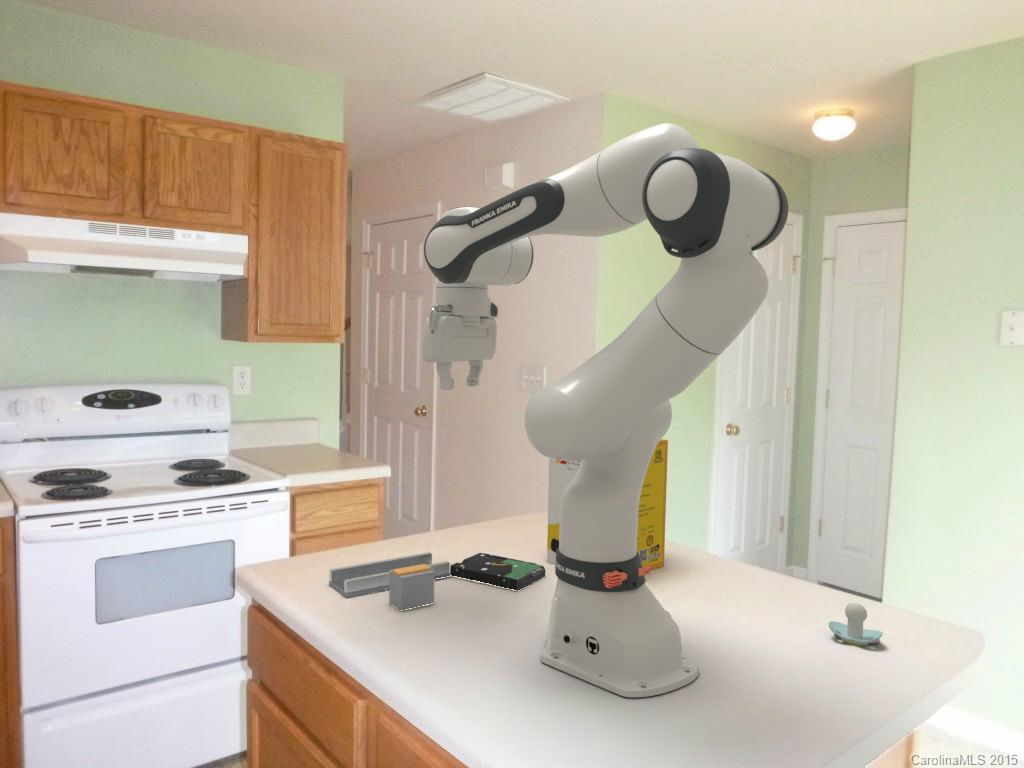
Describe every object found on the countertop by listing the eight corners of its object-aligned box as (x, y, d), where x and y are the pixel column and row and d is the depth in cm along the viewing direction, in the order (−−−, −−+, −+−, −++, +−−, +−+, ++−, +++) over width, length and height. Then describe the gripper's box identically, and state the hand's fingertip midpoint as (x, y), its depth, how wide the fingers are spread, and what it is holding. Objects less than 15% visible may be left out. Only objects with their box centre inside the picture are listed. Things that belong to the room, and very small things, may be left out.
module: (433, 604, 126) (434, 569, 125) (401, 611, 122) (401, 575, 122) (421, 596, 129) (421, 562, 129) (389, 603, 126) (389, 568, 125)
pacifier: (833, 629, 118) (825, 641, 113) (835, 590, 118) (828, 600, 113) (884, 640, 114) (879, 653, 109) (887, 600, 114) (882, 610, 109)
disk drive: (449, 580, 140) (519, 594, 132) (449, 565, 139) (519, 578, 132) (479, 565, 149) (546, 578, 141) (479, 551, 148) (546, 563, 141)
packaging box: (546, 562, 149) (549, 436, 148) (601, 547, 160) (604, 430, 159) (609, 583, 137) (613, 447, 136) (664, 566, 148) (668, 439, 147)
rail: (449, 577, 139) (449, 562, 139) (346, 598, 128) (347, 581, 127) (428, 566, 146) (428, 551, 145) (329, 584, 134) (329, 569, 134)
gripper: (448, 304, 117) (447, 393, 118) (503, 308, 136) (501, 385, 137) (413, 303, 120) (412, 391, 121) (471, 308, 138) (470, 383, 139)
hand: (460, 387), depth 129 cm, fingers open, 8 cm apart
